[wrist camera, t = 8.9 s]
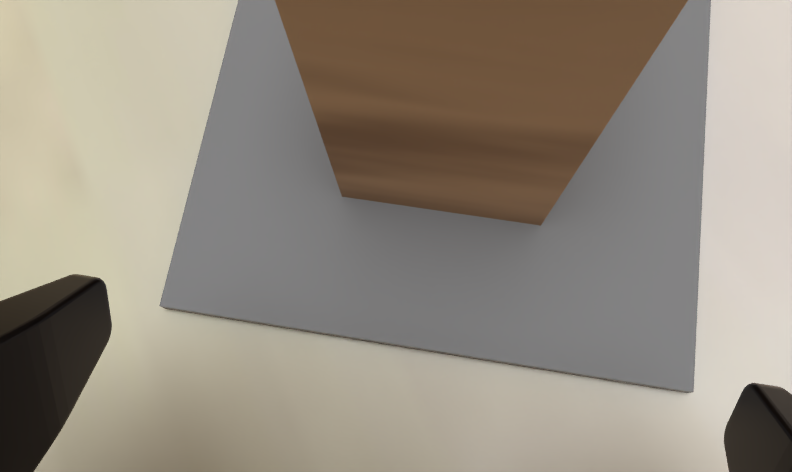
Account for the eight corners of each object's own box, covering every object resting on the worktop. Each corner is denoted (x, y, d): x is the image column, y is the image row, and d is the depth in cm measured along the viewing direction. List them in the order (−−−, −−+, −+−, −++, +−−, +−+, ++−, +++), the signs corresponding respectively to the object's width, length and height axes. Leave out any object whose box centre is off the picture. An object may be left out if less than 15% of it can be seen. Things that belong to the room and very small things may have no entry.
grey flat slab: (687, 392, 17) (706, 390, 16) (165, 308, 18) (147, 301, 17) (710, -102, 21) (727, -132, 20) (281, -148, 22) (274, -180, 21)
